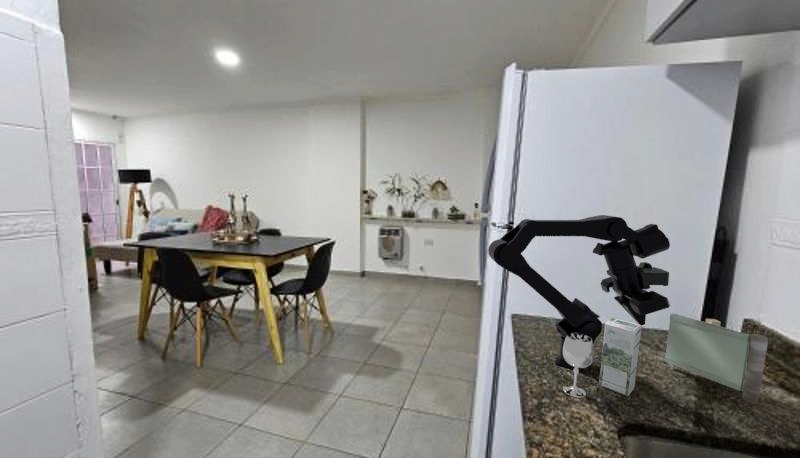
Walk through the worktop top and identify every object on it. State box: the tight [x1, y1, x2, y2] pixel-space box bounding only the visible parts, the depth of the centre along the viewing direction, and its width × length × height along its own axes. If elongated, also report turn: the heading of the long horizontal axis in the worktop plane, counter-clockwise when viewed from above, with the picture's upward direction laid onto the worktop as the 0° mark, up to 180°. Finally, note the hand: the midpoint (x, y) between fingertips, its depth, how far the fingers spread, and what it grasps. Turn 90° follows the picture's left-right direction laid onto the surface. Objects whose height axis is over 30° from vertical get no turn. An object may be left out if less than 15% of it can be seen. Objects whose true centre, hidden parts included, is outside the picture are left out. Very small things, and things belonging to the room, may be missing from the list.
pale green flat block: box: [664, 313, 752, 392], centre depth 79 cm, size 14×2×12 cm, turn 28°
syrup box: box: [598, 317, 642, 397], centre depth 75 cm, size 6×6×14 cm
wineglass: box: [562, 333, 595, 399], centre depth 73 cm, size 6×6×12 cm
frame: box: [704, 318, 769, 405], centre depth 79 cm, size 17×4×14 cm, turn 173°
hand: (642, 324), depth 84 cm, fingers closed
